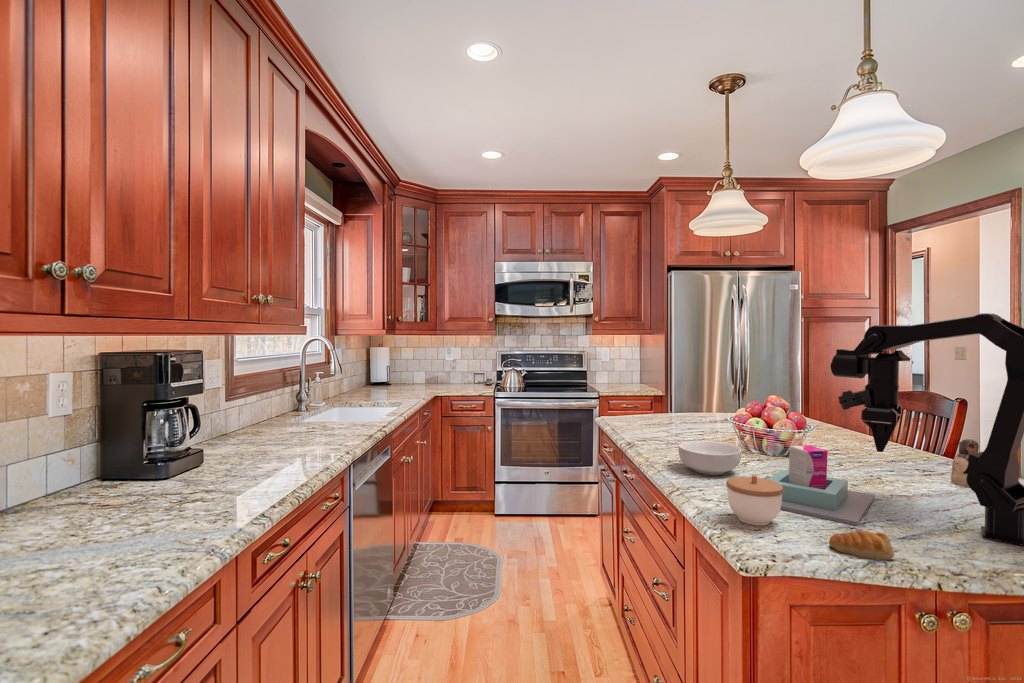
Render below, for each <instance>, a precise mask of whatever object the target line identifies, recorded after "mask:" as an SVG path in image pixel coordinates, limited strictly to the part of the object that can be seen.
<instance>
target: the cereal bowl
mask: <svg viewBox="0 0 1024 683" xmlns="http://www.w3.org/2000/svg"><path fill="white" fill-rule="evenodd" d="M678 456H679V458H680V461H681V462H682V463H683V464H684V465H685V466H687V467H688V468H690V469H692V470H694V471H695V472H696V473H699V474H702V475H707V476H708V475H709V476H720V475H724V474H725V473H727V472H729V471H732V470H734V469H736V468H738V466H739V464H740V463H741V460H742V449H741V448H740V447H739V446H737V445H735V444H731V443H728V442H727V443H726V442H720V441H719V442H718V441H710V440H709V441H707V440H693V441H685V442H681V443H679V444H678Z"/></svg>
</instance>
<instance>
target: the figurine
mask: <svg viewBox="0 0 1024 683" xmlns="http://www.w3.org/2000/svg"><path fill="white" fill-rule="evenodd" d="M958 446H959V447H958V453H957V455H956V456H955V457H954V458H953V459H952V466H951V473H950V474H951V475H950V481H951V484H953V483H954V484H953V485H955V484H956V486H958V485H960V486H959V487H962V486H964V488H967V487H969V485H968V484H967V481H966V477H967V474H963V472H964V471H965V470H966V469H967V467H968V459H969V456H970V455H971V454H975V453H979V448H980V446H979V443H978V442H977V440H975V439H968V438H966V439H962V440H961V441H959V442H958Z"/></svg>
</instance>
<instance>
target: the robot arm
mask: <svg viewBox="0 0 1024 683" xmlns="http://www.w3.org/2000/svg"><path fill="white" fill-rule="evenodd" d="M974 335H981V336H983V337H984V338H985V339H987V340H988V341H989V342H991V343H992V344H994V346H995V347H997V348H1000V349H1001V350H1003V351H1005V361H1004V364H1005V370H1006V377H1007V380H1006V384H1005V387H1004V390H1003V394H1002V397H1001V401H1000V403H999V406H998V410H997V413H996V416H995V420H994V422H993V425H992V430H991V432H990V435H989V438H988V442H987V445H986V448H985V449H984V450H983V451H980V452H979V451H978V453H975V454H971V455H970V456H969V459H968V467H967V469H966V470H965V471H964V472H963V474H967V477H966V481H967V484H968V485H969V487H970V488H969V489H971V491H973V493H975V496H976V498H977V501H978V502H979V506H981V507H984V526H983V525H981V526H980V532H981V535H982V536H981V537H982V538H984V539H988V540H994V541H998V542H999V541H1000V542H1003V543H1005V542H1006V543H1010V544H1014V545H1021V546H1024V485H1023V484H1022V483H1021V482H1019V480H1020V469H1021V468H1020V463H1019V458H1018V453H1019V450H1020V446H1021V443H1022V441H1023V437H1024V327H1022V326H1019V325H1018V324H1015V323H1013V322H1011V321H1009V320H1006V319H1005V318H1002V317H1001V316H1000V315H999V314H995V313H986V312H985V313H981V312H980V313H978V314H975V315H971V316H964V317H957V318H951V319H944V320H938V321H937V320H936V321H931V322H924V323H918V324H911V325H910V324H907V325H903V324H901V325H900V324H899V325H897V324H895V325H893V324H892V325H891V324H889V325H888V324H887V325H886V324H884V325H879V324H878V325H876V324H875V325H872V326H870V327H867V329H866V331H865V332H864V335H863V339H862V340H861V341H860V342H859V343H858V345H857V346H855V348H854V350H853V349H852V350H851V349H843V348H841V349H840V348H839V349H836V351H835V355H833V357H832V360H831V362H830V370H831V371H830V372H831V373H832V375H833V376H834V377H837V378H847V379H848V378H849V379H851V378H852V379H864V378H865V377H866V375H867V384H866V385H865V386H864V389H862V390H858V391H854V392H853V391H852V390H851V389H850V390H847V391H843V392H842V394H841V395H839V396H838V397H837V399H838V400H839V401H838V403H839V404H840V406H841V409H842V410H849V409H850V408H854V407H858V406H859V407H860V406H862V405H863V407H865V408H863V410H862V411H861V413H860V414H861V420H862V423H864V424H866V426H868V427H869V428H870V429H871V432H872V436H873V441H874V445H875V450H876V452H878V453H883V452H884V451H885V448H886V447H887V445H888V444H889V441H890V439H891V437H892V435H893V433H894V431H895V430H896V427H897V425H898V423H899V421H900V419H901V417H902V414H903V409H902V408H903V405H902V404H901V403H900V402H899V390H900V384H899V382H900V381H899V380H900V379H899V378H900V377H899V376H900V375H899V374H900V372H899V370H900V367H899V366H900V362H910V361H911V358H910V357H909V356H908V355H907V354H905V352H903V350H899V349H902V348H906V347H909V346H912V345H914V344H917V343H921V342H927V341H936V340H944V339H951V338H959V337H967V336H974ZM886 351H894V352H892V353H891V352H890V353H889V352H886ZM884 352H885V353H884ZM870 355H876V356H874V357H872V356H870Z"/></svg>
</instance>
